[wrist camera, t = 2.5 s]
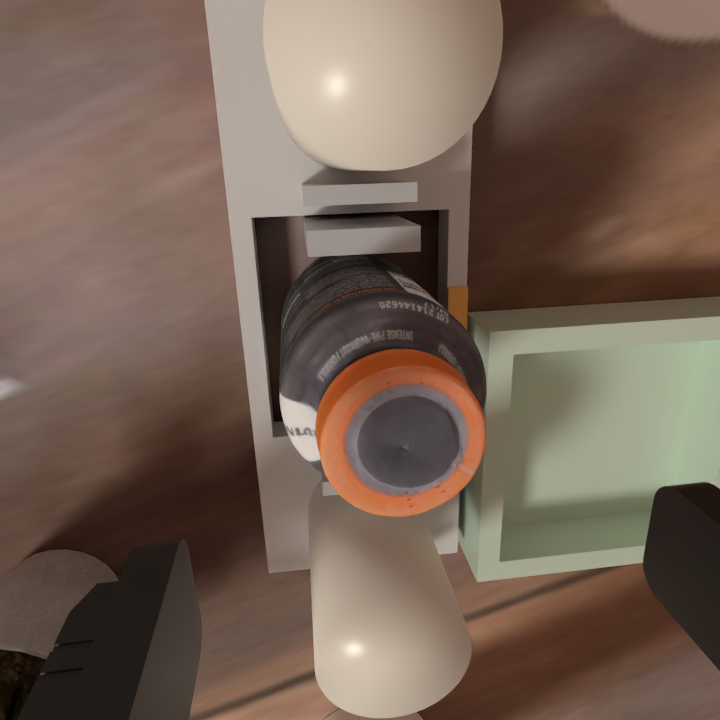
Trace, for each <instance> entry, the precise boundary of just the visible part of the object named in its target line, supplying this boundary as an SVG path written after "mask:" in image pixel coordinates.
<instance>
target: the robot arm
mask: <svg viewBox="0 0 720 720" xmlns="http://www.w3.org/2000/svg"><path fill="white" fill-rule="evenodd" d="M643 567H644V573H645V576H646V580H647V582H648V584H649V587H650V588H651V590H652V592H653V594H654V595H655V596H656V598H657V599H658V600H659V601H660V602H661V603H662V605H663V606H664V607H665V608H666V609H667V610H668V612H669V613H670V614H671V615H672V616H673V617H674V619H675V620H676V621H677V622H678V623H679V624H680V625H681V627H682V628H683V629H684V630H685V631H686V632H687V634H688V635H689V636H690V637H691V638H692V639H693V641H694V642H695V643H696V644H697V645H698V646H699V647H700V649H701V650H702V651H703V652H704V653H705V654H706V656H707V657H708V658H709V659H710V660H711V661H712V663H713V664H714V665H715V666H716V667H717V668H718V670H719V671H720V489H719V488H718V487H716V486H715V485H713V484H711V483H708V482H698V483H689V484H680V485H671V486H663V487H661V488H659V489H658V490H657V492H656V493H655V496H654V500H653V505H652V511H651V516H650V522H649V528H648V533H647V539H646V545H645V550H644V556H643ZM200 651H201V616H200V609H199V604H198V598H197V592H196V587H195V581H194V576H193V570H192V565H191V559H190V554H189V549H188V545H187V542H186V541H185V539H178V540H169V541H160V542H151V543H143V544H135V545H134V546H133V547H132V549H131V551H130V553H129V556H128V558H127V560H126V563H125V565H124V568H123V570H122V573H121V575H120V578H119V580H118V581H113V582H105V583H97V584H96V585H95V586H94V587H93V588H92V589H91V590H90V591H89V592H88V593H87V594H86V596H85V597H84V598H83V599H82V600H81V601H80V602H79V603H78V604H77V605H76V606H75V607H74V608H73V609H72V610H71V611H70V612H69V614H68V616H67V618H66V620H65V622H64V624H63V626H62V628H61V631H60V633H59V635H58V637H57V639H56V641H55V643H54V649H53V651H51V652H50V653H49V655H48V657H47V659H46V661H45V663H44V665H43V667H42V669H41V671H40V678H39V681H36V682H35V684H34V686H33V688H32V690H31V692H30V694H29V696H28V698H27V700H26V702H25V704H24V706H23V708H22V710H21V712H20V714H19V716H18V718H17V720H189V715H190V709H191V704H192V698H193V693H194V687H195V681H196V676H197V670H198V664H199V659H200Z"/></svg>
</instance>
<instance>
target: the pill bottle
mask: <svg viewBox="0 0 720 720" xmlns="http://www.w3.org/2000/svg"><path fill="white" fill-rule="evenodd" d="M279 376H280V408H281V414H282V418H283V422H284V425H285V428H286V431H287V433H288V435H289V437H290V439H291V441H292V443H293V445H294V446H295V448H296V449H297V450H298V452H299V453H300V454H301V455H302V456H303V458H304V459H305V460H306V461H307V462H308V463H309V464H310V465H311V466H312V467H313V468H315V469H316V470H317V471H319V472H320V473H322V474H324V475H325V476H326V477H327V478H328V480H329V482H330V483H331V485H332V486H333V488H334V489H335V490H336V491H337V493H338V494H339V495H340V496H341V497H342V498H343V499H345V500H346V501H347V502H349V503H350V504H352V505H354V506H355V507H357V508H359V509H361V510H363V511H366V512H369V513H372V514H376V515H381V516H393V517H403V516H411V515H416V514H420V513H423V512H426V511H429V510H432V509H434V508H436V507H438V506H440V505H442V504H444V503H445V502H447V501H448V500H450V499H452V498H453V497H455V495H456V494H458V493H459V492H460V491H461V490H462V489H463V488H464V487H465V486H466V485H467V484H468V483H469V481H470V480H471V479H472V478H473V476H474V474H475V473H476V471H477V469H478V467H479V464H480V462H481V459H482V456H483V453H484V451H485V446H486V422H485V418H484V414H483V411H484V406H485V401H486V389H487V386H486V374H485V368H484V364H483V360H482V357H481V355H480V352H479V349H478V348H477V346H476V344H475V342H474V340H473V338H472V337H471V335H470V334H469V332H468V331H467V330H466V329H465V328H464V326H463V325H462V324H461V323H460V322H459V321H458V320H457V319H456V318H455V317H453V316H452V315H451V314H450V313H449V312H448V311H447V310H446V309H445V308H444V307H442V306H441V305H440V304H439V303H438V302H437V301H436V300H435V299H434V298H433V297H432V296H431V295H430V294H429V293H428V292H427V291H425V290H424V289H423V288H421V287H420V286H419V285H418V284H417V283H416V282H414V281H413V280H412V279H411V278H410V277H409V276H408V275H407V274H406V273H405V272H404V271H403V270H402V269H400V268H399V267H398V266H396V265H395V264H393V263H392V262H390V261H389V260H387V259H384V258H382V257H380V256H377V255H375V254H360V255H341V256H327V257H325V258H323V259H320V260H318V261H317V262H315V263H314V264H312V265H310V266H309V267H308V268H307V269H305V270H304V271H303V273H302V274H301V275H300V277H299V278H298V279H297V280H296V281H295V282H294V284H293V285H292V287H291V288H290V290H289V292H288V294H287V296H286V299H285V302H284V306H283V311H282V318H281V353H280V374H279Z"/></svg>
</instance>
